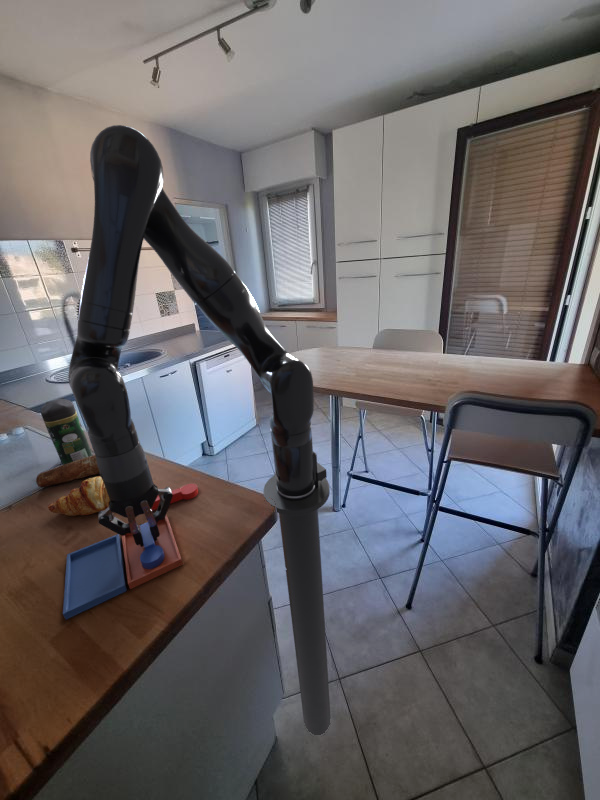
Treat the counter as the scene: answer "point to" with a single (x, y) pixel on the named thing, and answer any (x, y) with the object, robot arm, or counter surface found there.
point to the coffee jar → (65, 430)
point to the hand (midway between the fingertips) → (148, 540)
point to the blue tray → (93, 576)
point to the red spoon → (180, 494)
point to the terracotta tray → (133, 551)
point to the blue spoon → (150, 549)
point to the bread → (68, 472)
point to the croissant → (83, 499)
